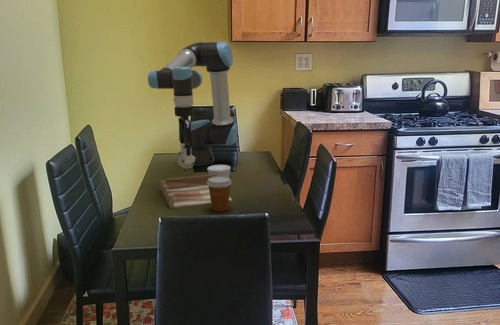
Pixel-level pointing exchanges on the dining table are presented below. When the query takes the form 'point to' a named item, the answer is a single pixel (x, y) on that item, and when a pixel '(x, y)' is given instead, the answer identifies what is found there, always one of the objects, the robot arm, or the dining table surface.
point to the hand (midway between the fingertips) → (186, 160)
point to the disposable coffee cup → (219, 192)
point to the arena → (187, 191)
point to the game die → (182, 161)
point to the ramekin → (219, 170)
